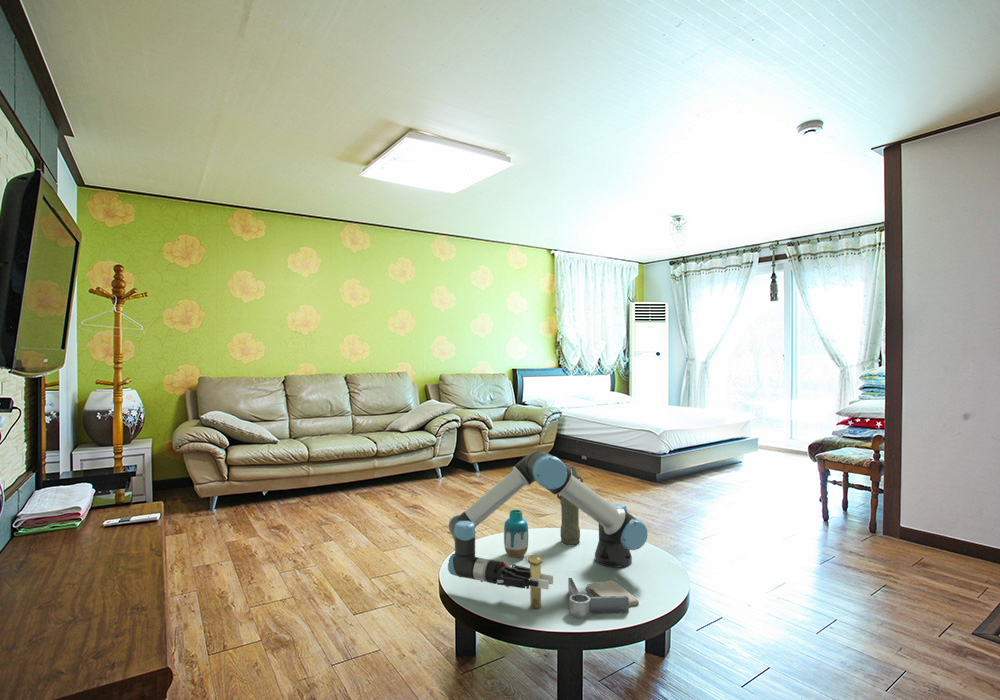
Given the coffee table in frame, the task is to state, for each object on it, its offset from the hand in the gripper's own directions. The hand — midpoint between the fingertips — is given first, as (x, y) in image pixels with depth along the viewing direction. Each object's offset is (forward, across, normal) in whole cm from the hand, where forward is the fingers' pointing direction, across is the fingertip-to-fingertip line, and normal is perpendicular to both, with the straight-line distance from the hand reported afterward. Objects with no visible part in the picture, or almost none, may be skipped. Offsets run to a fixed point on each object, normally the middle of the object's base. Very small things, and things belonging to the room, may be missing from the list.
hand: (550, 582), depth 174 cm
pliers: (-29, -17, -10) cm, 35 cm away
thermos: (-15, -65, -9) cm, 67 cm away
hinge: (+12, -11, -9) cm, 18 cm away
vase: (-31, -40, -9) cm, 51 cm away
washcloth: (+16, -18, -10) cm, 26 cm away
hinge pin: (-5, 0, -9) cm, 10 cm away
